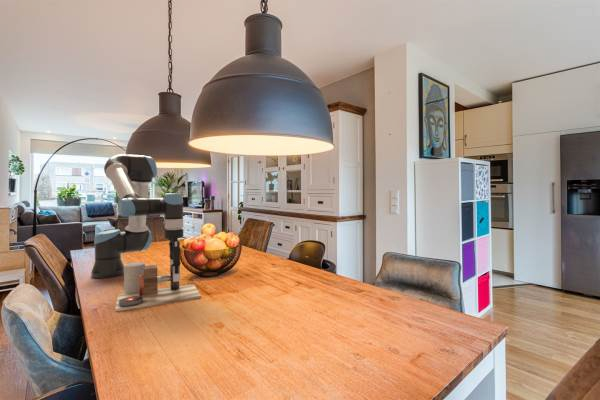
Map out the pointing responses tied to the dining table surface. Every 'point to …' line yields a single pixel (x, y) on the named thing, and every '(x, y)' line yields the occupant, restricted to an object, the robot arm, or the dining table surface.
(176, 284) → the t-handle
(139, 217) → the robot arm
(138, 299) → the handwheel
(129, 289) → the beige solid cylinder
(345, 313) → the dining table surface
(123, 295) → the block
